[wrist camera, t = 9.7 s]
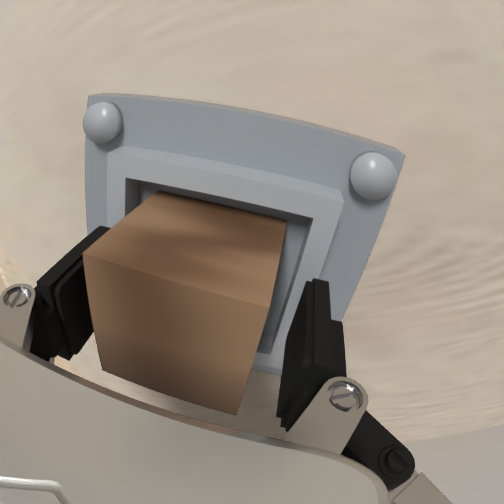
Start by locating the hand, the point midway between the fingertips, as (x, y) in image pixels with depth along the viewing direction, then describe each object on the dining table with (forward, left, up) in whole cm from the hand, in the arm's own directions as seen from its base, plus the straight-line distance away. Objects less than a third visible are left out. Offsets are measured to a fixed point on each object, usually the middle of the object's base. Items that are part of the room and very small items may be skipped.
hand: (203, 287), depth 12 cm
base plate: (0, 0, -3) cm, 3 cm away
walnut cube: (0, 0, -2) cm, 2 cm away
